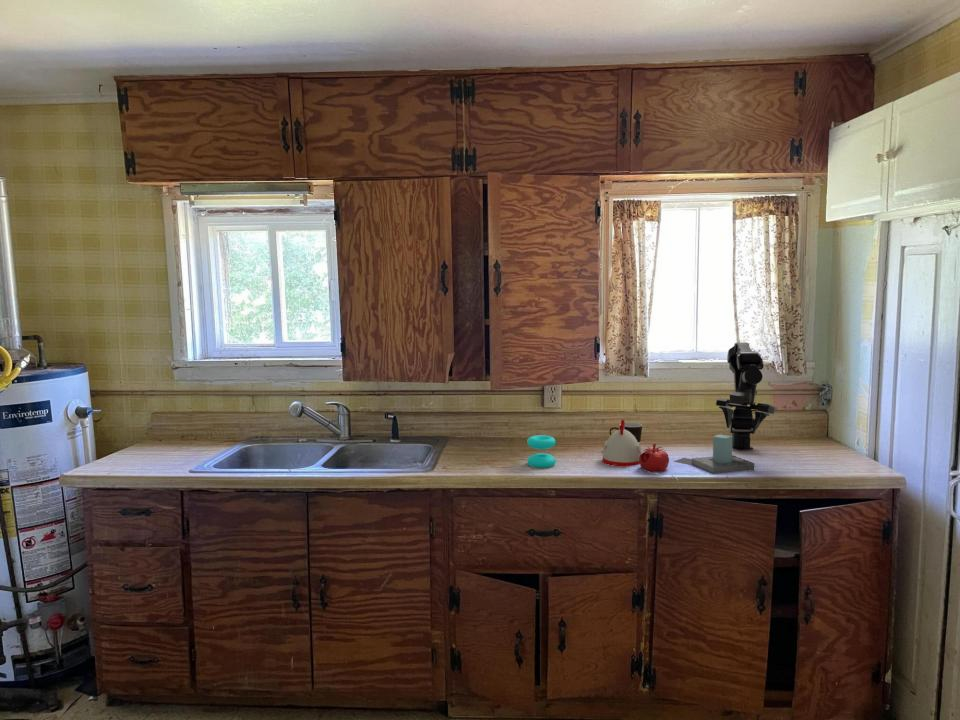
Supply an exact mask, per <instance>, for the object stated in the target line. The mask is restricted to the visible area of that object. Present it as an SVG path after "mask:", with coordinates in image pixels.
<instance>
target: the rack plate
mask: <svg viewBox="0 0 960 720" xmlns="http://www.w3.org/2000/svg"><path fill="white" fill-rule="evenodd" d="M691 459H692V465H691V466H694V467H696V468H699V469H701V470H703V471H706V472H708V473H710V474H713V475H715V474H723V473H733V472H744V471H748V470H754V471H755V462H753V461H749V460H746V459H745V458H741V457H739V456H737V455H733V454H732V463H725V464H719V463H717V462H714V461H713V456H705V457H691Z"/></svg>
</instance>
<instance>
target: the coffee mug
mask: <svg viewBox="0 0 960 720" xmlns="http://www.w3.org/2000/svg"><path fill="white" fill-rule="evenodd" d="M620 429H621V423H619V426H618V427H611V428H610V429H609V435H610V436H611V435H612V434H613V433H612V430H616V431H617V430H620ZM625 430H627V431H629V432H630V433H631V434H632V435H633V436H634V437H635V438H636V440H637V442H638V443H639V442H640V443H641V441H642V440H641V439H642V434H643V433H642V431H643V424H641V423H638V422H625Z"/></svg>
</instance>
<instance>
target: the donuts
mask: <svg viewBox="0 0 960 720" xmlns="http://www.w3.org/2000/svg"><path fill="white" fill-rule="evenodd" d="M526 441H527V442H526V444H527V446H528V447H530V448H532V449H535V450H548V449H551V448H554V446H555V445H556V439H555V437H553V436H550V435H544V434H541V435H540V434H539V435H538V434H537V435H532V436H530V437H528V439H527V440H526ZM526 461H527V464H528V466H530V467H531V468H535V467H536V468H537V469H547V468H552V467H553V466H555V465H556V457H555V456H553V455H551V454H548V453H534V454H532V455H530V456H529V457H528V458H527V460H526Z"/></svg>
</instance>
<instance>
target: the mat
mask: <svg viewBox="0 0 960 720" xmlns="http://www.w3.org/2000/svg"><path fill="white" fill-rule="evenodd" d="M673 462H675V463H678V464H679V463H680V464H685V465H689V466H693V465H692V458H687V457H683V458H680V459H679V458H678V459H676V460H673Z"/></svg>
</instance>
